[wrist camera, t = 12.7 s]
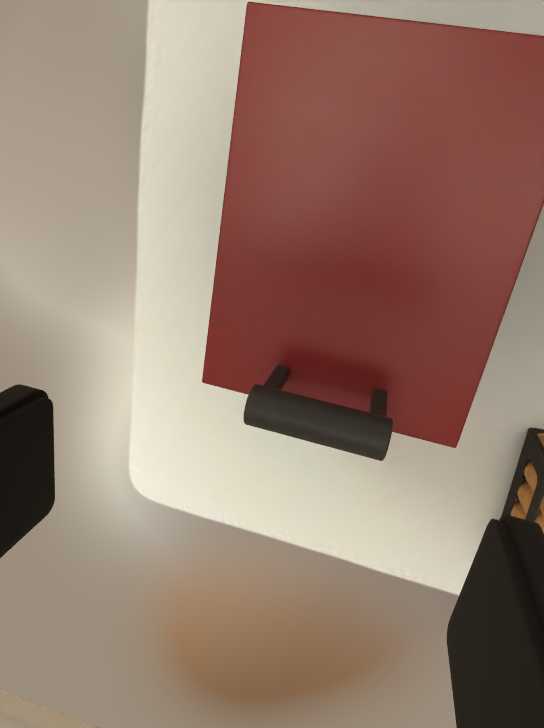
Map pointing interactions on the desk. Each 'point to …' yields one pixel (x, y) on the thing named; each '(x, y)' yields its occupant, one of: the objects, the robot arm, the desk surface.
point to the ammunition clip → (529, 481)
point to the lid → (372, 221)
